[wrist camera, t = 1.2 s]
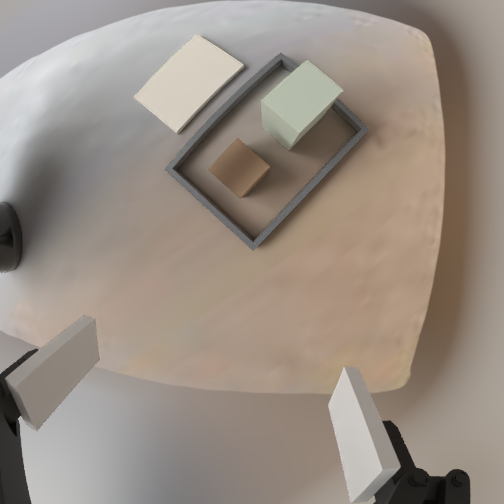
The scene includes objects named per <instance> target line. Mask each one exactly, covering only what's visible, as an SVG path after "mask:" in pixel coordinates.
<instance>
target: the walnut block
mask: <svg viewBox="0 0 504 504" xmlns="http://www.w3.org/2000/svg"><path fill="white" fill-rule="evenodd" d="M269 169H270V166H269V165H268V164H267V163H266V162H264V161H263V160H262V159H261V158H260V157H259V156H258V155H257V154H255V153H254V152H253V151H252V150H251V149H250V148H249V147H248V146H246V145H245V144H244V143H243V142H242V141H241V140H239V139H238V138H237V139H236V140H235V141H234V142H233V143H232V144H231V145H230V147H229V148H228V149H227V150H226V151H225V152H224V153H223V154H222V155H221V156H220V157H219V158H218V159H217V161H216V162H215V163H214V164H213V165H212V166H211V167H210V168H209V169H208V170H209V171H210V172H211V173H212V174H213V175H215V176H216V177H217V178H218V179H219V180H220V181H221V182H222V183H223V184H225V185H226V186H227V187H228V188H229V189H230V190H231V191H232V192H233V193H235V194H236V195H237V196H238V197H239V198H244V197H245V196H246V195H247V194H248V193H249V192H250V191H251V190H252V189H253V188H254V187H255V185H256V184H257V183H258V182H259V181H260V180H261V179H262V178H263V177H264V176H265V175H266V174H267V173H268V172H269Z"/></svg>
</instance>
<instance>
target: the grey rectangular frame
mask: <svg viewBox="0 0 504 504" xmlns="http://www.w3.org/2000/svg"><path fill="white" fill-rule="evenodd" d="M280 65H282V66H283V67H284V68H286V69H287V70H288V71H290V72H291V73H292V72H293V71H294V70H295V69H296V68H298V67H299V66H298V65H297V64H295V63H294V62H293V61H291V60H290V59H289V58H287V57H286V56H285V55H283V54H282V53H280V54H279V55H277V56H276V57H275V58H274V59H273V60H271V61H270V62H269V63H268V64H267V65H266V66H264V67H263V68H262V69H261V70H260V71H259V72H258V73H256V74H255V75H254V76H253V77H252V78H251V79H250V80H249V81H248V82H247V83H245V84H244V85H243V86H242V87H241V88H240V89H239V90H238V91H237V92H236V93H235V94H234V95H233V96H232V97H231V98H230V99H229V100H228V101H227V102H226V103H225V104H224V105H223V106H222V107H221V108H220V109H219V110H218V111H217V112H216V113H215V114H214V115H213V116H212V117H211V118H210V119H209V120H208V121H207V122H206V123H205V124H204V125H203V126H202V127H201V128H200V130H199V131H198V132H197V133H196V134H195V135H194V136H193V137H192V138H191V139H190V141H189V142H188V143H187V144H186V145H185V146H184V147H183V148H182V150H181V151H180V152H179V153H178V154H177V155H176V157H175V158H174V159H173V160H172V161H171V162H170V164H169V165H168V166H167V167H166V168H165V170H166V171H167V172H168V173H169V174H170V175H171V176H172V177H173V178H174V179H176V180H177V181H178V182H179V183H180V184H181V185H182V186H183V187H184V188H185V189H186V190H188V191H189V192H190V193H191V194H192V195H193V196H194V197H195V198H196V199H197V200H198V201H200V202H201V203H202V204H203V205H204V206H205V207H206V208H207V209H208V210H209V211H210V212H212V213H213V214H214V215H215V216H216V217H217V218H218V219H219V220H220V221H221V222H222V223H224V224H225V225H226V226H227V227H228V228H229V229H230V230H231V231H232V232H233V233H235V234H236V235H237V236H238V237H239V238H240V239H241V240H242V241H243V242H244V243H245V244H247V245H248V246H249V247H250V248H251V249H252V250H253V251H254V250H255V249H256V247H257V246H258V245H259V244H260V243H261V242H262V241H263V240H264V239H265V238H266V237H267V236H268V235H269V234H270V233H271V232H272V231H273V230H274V229H275V228H276V227H277V226H278V224H279V223H280V222H281V221H282V220H283V219H284V218H285V217H286V216H287V215H288V214H289V213H290V212H291V211H292V210H293V209H294V208H295V207H296V206H297V205H298V204H299V203H300V201H301V200H302V199H303V198H304V197H305V196H306V195H307V194H308V193H309V192H310V191H311V190H312V189H313V188H314V187H315V186H316V185H317V184H318V183H319V182H320V181H321V179H322V178H323V177H324V176H325V175H326V174H327V173H328V172H329V171H330V170H331V169H332V168H333V167H334V166H335V165H336V164H337V163H338V162H339V161H340V160H341V159H342V158H343V156H344V155H345V154H346V153H347V152H348V151H349V150H350V149H351V148H352V147H353V146H354V145H355V144H356V143H357V142H358V141H359V140H360V139H361V138H362V137H363V136H364V135H365V133H366V132H367V131H368V130H369V129H368V128H367V127H366V126H365V125H364V124H363V123H362V122H361V121H360V120H359V119H358V118H357V117H356V116H355V115H354V114H353V113H352V112H351V111H350V110H349V109H348V108H347V107H346V106H345V105H344V104H343V103H342V102H340V101H339V100H338V99H336V101H335V102H334V103H333V104H332V106H331V107H332V108H333V109H334V110H335V111H337V112H338V113H339V114H340V115H341V116H342V117H343V118H344V119H345V120H346V121H347V122H348V123H349V124H350V125H351V126H352V127H353V128H354V129H355V130H356V131H357V133H356V134H355V135H354V136H353V137H352V138H351V139H350V140H349V141H348V142H347V143H346V144H345V145H344V146H343V147H342V148H341V149H340V150H339V151H338V152H337V153H336V154H335V155H334V156H333V157H332V158H331V159H330V161H329V162H328V163H327V164H326V165H325V166H324V167H323V168H322V169H321V170H320V171H319V172H318V173H317V174H316V175H315V176H314V177H313V178H312V179H311V180H310V181H309V182H308V183H307V184H306V185H305V187H304V188H303V189H302V190H301V191H300V192H299V193H298V194H297V195H296V196H295V197H294V198H293V199H292V200H291V201H290V202H289V203H288V204H287V205H286V206H285V207H284V209H283V210H282V211H281V212H280V213H279V214H278V215H277V216H276V217H275V218H274V219H273V220H272V221H271V222H270V223H269V224H268V225H267V226H266V227H265V228H264V230H263V231H262V232H261V233H260V234H259V235H258V236H257V237H256V238H255V239H254V240H253V239H252V238H251V237H250V236H249V235H248V234H247V233H246V232H244V231H243V230H242V229H241V228H240V227H239V226H238V225H237V224H236V223H235V222H234V221H232V220H231V219H230V218H229V217H228V216H227V215H226V214H225V213H224V212H223V211H222V210H220V209H219V208H218V207H217V206H216V205H215V204H214V203H213V202H212V201H211V200H209V199H208V198H207V197H206V196H205V195H204V194H203V193H202V192H201V191H200V190H199V189H197V188H196V187H195V186H194V185H193V184H192V183H191V182H190V181H189V180H187V179H186V178H185V177H184V176H183V175H182V174H181V173H180V172H179V171H178V170H177V169H178V168H179V166H180V165H181V164H182V163H183V162H184V161H185V159H186V158H187V157H188V156H189V155H190V154H191V153H192V151H193V150H194V149H195V148H196V147H197V146H198V145H199V144H200V142H201V141H202V140H203V139H204V138H205V137H206V136H207V135H208V134H209V133H210V132H211V131H212V130H213V128H214V127H215V126H216V125H217V124H218V123H219V122H220V121H221V120H222V119H223V118H224V117H225V116H226V115H227V114H228V113H229V112H230V111H231V110H232V109H233V108H234V107H235V106H236V105H237V104H238V103H239V102H240V101H241V100H242V99H243V98H244V97H245V96H246V95H247V94H248V93H250V92H251V91H252V90H253V89H254V88H255V87H256V86H257V85H258V84H259V83H260V82H261V81H263V80H264V79H265V78H266V77H267V76H268V75H269V74H270V73H271V72H273V71H274V70H275V69H276V68H277V67H278V66H280Z"/></svg>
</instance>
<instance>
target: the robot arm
mask: <svg viewBox="0 0 504 504" xmlns="http://www.w3.org/2000/svg"><path fill="white" fill-rule="evenodd" d="M21 252H22V235H21V229H20V224H19V221H18V218H17V216H16V213H15V212H14V210H13V208H12V207H11V206H10V205H9V204H7V203H4V202H2V203H0V273H6V272H9V271H11V270H13V269H15V268H16V267H17V265H18V263H19V261H20V258H21ZM99 360H100V357H99V350H98V341H97V332H96V321H95V318H92V317H89V316H86V315H84V316H82V317H81V318H80V319H78V320H77V321H76V322H74V323H73V324H72V325H71V326H69V327H68V328H67V329H65V330H64V331H63V332H61V333H60V334H59V335H57V336H56V337H55V338H54V339H52V340H51V341H50V342H49V343H47V344H46V345H45V346H43V347H42V348H41V349H40V350H38V349H34V350H32V351H29V352H27V353H26V354H25V355H24V356H22V357H21V358H20V359H18V360H17V361H16V362H15V363H14V364H12V365H11V366H10V367H9V368H7V369H6V370H5V371H3V372H2V373H1V374H0V504H31V500H30V496H29V491H28V487H27V482H26V476H25V470H24V464H23V457H22V448H21V438H20V424H19V420H18V418H19V417H20V416H22V418H23V420H24V422H25V424H27V425H28V426H30V427H31V428H33V429H34V430H36V431H38V429H39V428H40V427H41V426H42V425H43V423H44V422H45V421H46V420H47V419H48V418H49V416H50V415H51V414H52V413H53V412H54V411H55V409H56V408H57V407H58V406H59V405H60V404H61V402H62V401H63V400H64V399H65V398H66V397H67V396H68V394H69V393H70V392H71V391H72V390H73V389H74V388H75V387H76V385H77V384H78V383H79V382H80V381H81V380H82V379H83V377H84V376H85V375H86V374H87V373H88V372H89V371H90V370H91V369H92V368H93V367H94V365H95V364H96V363H97V362H98V361H99ZM328 407H329V411H330V414H331V419H332V423H333V427H334V431H335V435H336V439H337V444H338V448H339V452H340V457H341V461H342V466H343V469H344V474H345V479H346V484H347V488H348V493H349V498H350V503H351V504H352V503H360V502H367V501H368V500H369V499H371V498H372V497H373V496H375V500H376V502H375V503H373V504H470V479H469V476H468V474H467V473H466V472H464V471H462V470H459V469H454V470H452V471H450V472H449V473H448V474H447V475H446V476H445V477H440V476H429V474H428V473H427V472H426V471H424V470H423V469H420V468H416V467H415V465H414V462H413V460H412V458H411V456H410V454H409V451H408V449H407V447H406V445H405V444H404V440H403V438H402V437H401V434H400V432H399V430H398V427H396V426H395V425H394V424H393V423H392V422H391V421H382V420H381V418H380V416H379V413H378V411H377V409H376V406H375V405H374V402H373V400H372V398H371V395H370V393H369V391H368V389H367V387H366V384H365V382H364V380H363V378H362V376H361V374H360V371H359V369H358V367H344V368H343V371H342V373H341V376H340V378H339V381H338V383H337V386H336V388H335V390H334V393H333V395H332V397H331V400H330V402H329V404H328Z"/></svg>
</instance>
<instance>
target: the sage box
mask: <svg viewBox="0 0 504 504" xmlns="http://www.w3.org/2000/svg"><path fill="white" fill-rule="evenodd" d="M343 91H344V90H343V89H341V88H340V87H339V86H338V85H337V84H336V83H335V82H334V81H332V80H331V79H330V78H329V77H328V76H327V75H325V74H324V73H323V72H322V71H320V70H319V69H318V68H317V67H316V66H314V65H313V64H312V63H311V62H309V61H308V60H306V61H305V62H303V63H302V64H301V65H300V66H299V67H298V68H296V69H295V70H294V71H293V72H292V73H291V74H289V75H288V76H287V77H286V78H285V79H284V80H283V81H282V82H280V83H279V84H278V85H277V86H276V87H275V88H274V89H273V90H272V91H271V92H270V93H269V94H267V95H266V96H265V97H264V98H263V99H262V100H261V115H262V128H263V129H264V130H266V131H267V132H268V133H269V134H270V135H271V136H273V137H274V138H275V139H276V140H277V141H278V142H279V143H280V144H282V145H283V146H284V147H285V148H286V149H287V150H288V151H289V150H290V149H291V148H292V147H293V146H294V145H295V144H296V143H297V142H298V141H299V140H300V139H301V138H302V137H303V136H304V135H305V134H306V133H307V132H308V131H309V130H310V129H311V128H312V127H313V126H314V125H315V124H316V123H317V122H318V121H319V120H320V119H321V118H322V117H323V116H324V114H325V113H326V112H327V111H328V109H329V108H330V107H331V106H332V104H333V103H334V102H335V101H336V99H337V98H338V97H339V96H340V94H341V93H342V92H343Z"/></svg>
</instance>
